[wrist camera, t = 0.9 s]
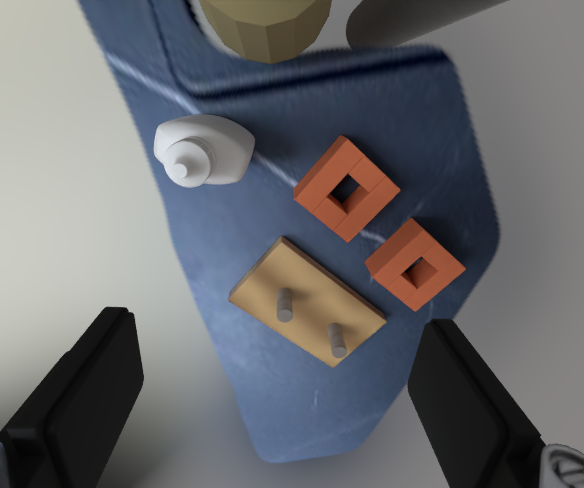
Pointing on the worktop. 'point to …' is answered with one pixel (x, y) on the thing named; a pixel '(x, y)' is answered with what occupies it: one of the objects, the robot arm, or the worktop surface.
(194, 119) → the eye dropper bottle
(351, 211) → the pad
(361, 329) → the base board
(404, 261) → the orange square ring block
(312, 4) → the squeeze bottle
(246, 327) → the worktop surface
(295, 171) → the worktop surface
